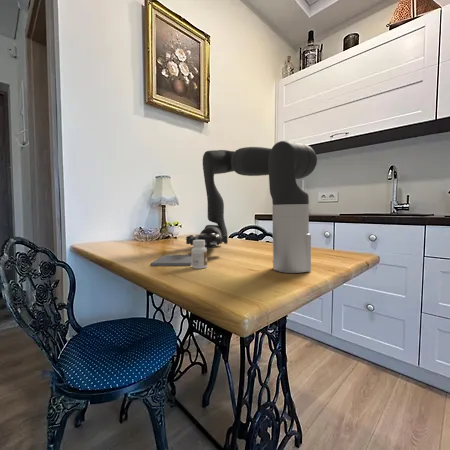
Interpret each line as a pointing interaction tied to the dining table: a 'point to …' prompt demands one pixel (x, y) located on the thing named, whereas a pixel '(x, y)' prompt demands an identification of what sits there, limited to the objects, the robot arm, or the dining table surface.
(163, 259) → the mat
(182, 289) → the dining table surface
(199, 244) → the pill bottle
